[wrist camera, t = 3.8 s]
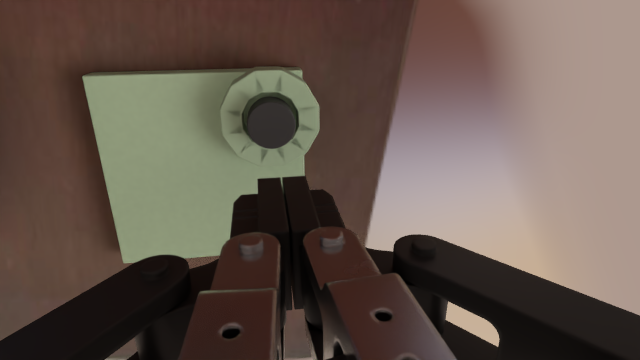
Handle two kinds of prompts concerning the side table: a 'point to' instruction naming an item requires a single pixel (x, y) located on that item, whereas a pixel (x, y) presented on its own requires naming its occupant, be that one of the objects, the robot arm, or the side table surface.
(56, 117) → the side table surface
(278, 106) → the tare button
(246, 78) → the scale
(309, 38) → the side table surface
